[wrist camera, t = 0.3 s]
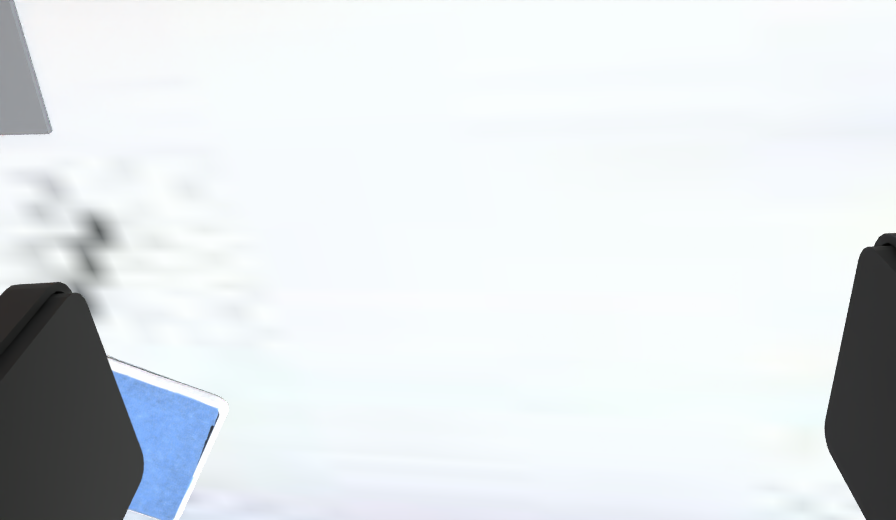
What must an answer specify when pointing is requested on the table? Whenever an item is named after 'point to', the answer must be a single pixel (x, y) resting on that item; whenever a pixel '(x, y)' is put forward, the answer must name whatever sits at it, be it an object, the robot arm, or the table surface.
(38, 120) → the mat
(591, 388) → the table surface
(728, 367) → the table surface
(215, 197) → the table surface
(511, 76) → the table surface
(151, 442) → the tablet computer
